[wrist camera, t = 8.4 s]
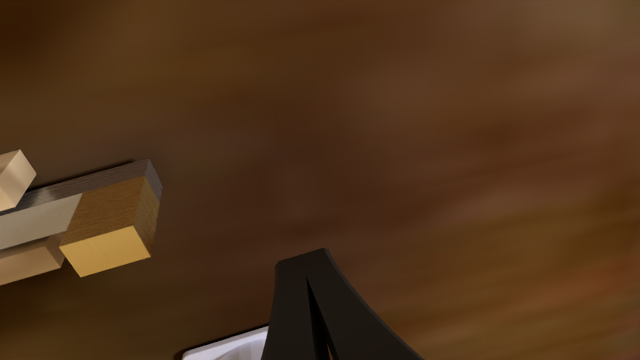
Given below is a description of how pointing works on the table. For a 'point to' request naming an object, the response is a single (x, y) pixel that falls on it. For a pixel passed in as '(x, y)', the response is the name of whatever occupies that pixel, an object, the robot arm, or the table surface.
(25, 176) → the dock
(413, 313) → the table surface
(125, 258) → the pin
